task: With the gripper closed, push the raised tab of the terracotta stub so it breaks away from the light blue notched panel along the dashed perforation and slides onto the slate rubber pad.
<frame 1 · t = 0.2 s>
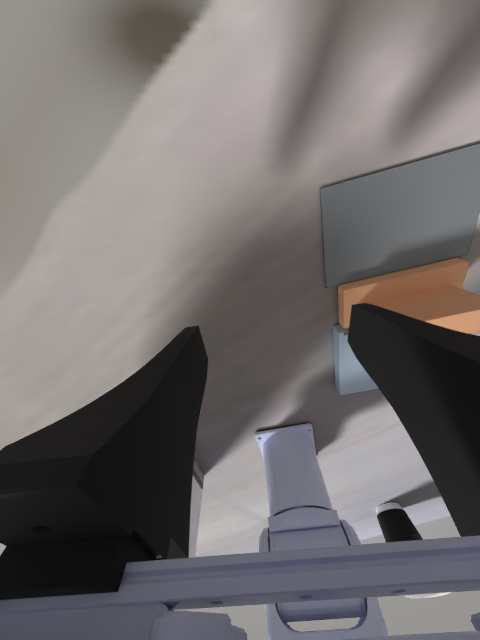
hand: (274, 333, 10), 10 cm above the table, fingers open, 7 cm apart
stub: (413, 304, 18), point 3 cm above the table, slide at 0.0 cm
pad: (398, 223, 17), on the table
light blue notched panel: (384, 348, 24), on the table
tall white rectangular box: (161, 461, 34), on the table
dixie cup: (387, 506, 45), on the table
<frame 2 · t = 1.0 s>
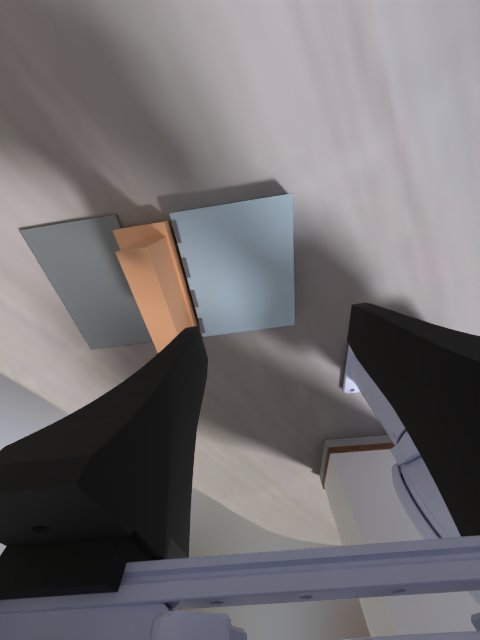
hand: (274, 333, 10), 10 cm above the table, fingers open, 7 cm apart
stub: (154, 295, 17), point 3 cm above the table, slide at 0.0 cm
pad: (102, 291, 20), on the table
light blue notched panel: (240, 271, 19), on the table
tall white rectangular box: (356, 454, 35), on the table
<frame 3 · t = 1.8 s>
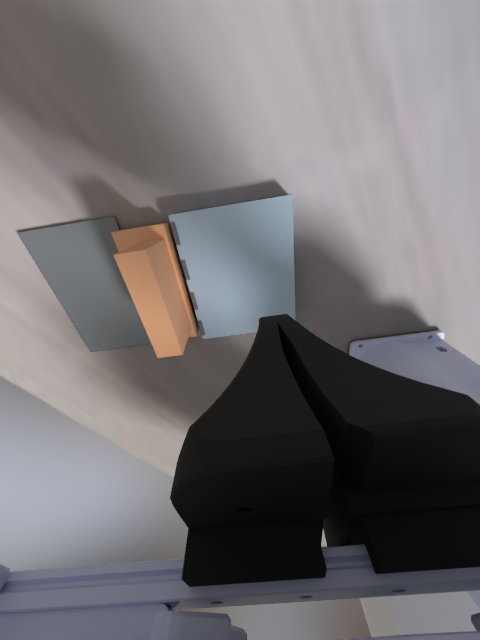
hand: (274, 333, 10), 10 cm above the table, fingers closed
stub: (153, 297, 17), point 3 cm above the table, slide at 0.0 cm
pad: (101, 294, 20), on the table
light blue notched panel: (240, 273, 19), on the table
tall white rectangular box: (358, 456, 35), on the table
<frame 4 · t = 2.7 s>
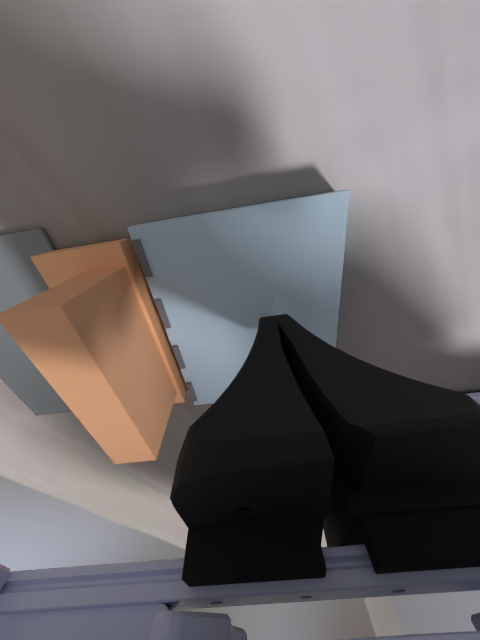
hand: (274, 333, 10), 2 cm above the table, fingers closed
stub: (109, 361, 10), point 3 cm above the table, slide at 0.0 cm
pad: (40, 342, 13), on the table
light blue notched panel: (250, 313, 12), on the table
tall white rectangular box: (391, 518, 28), on the table
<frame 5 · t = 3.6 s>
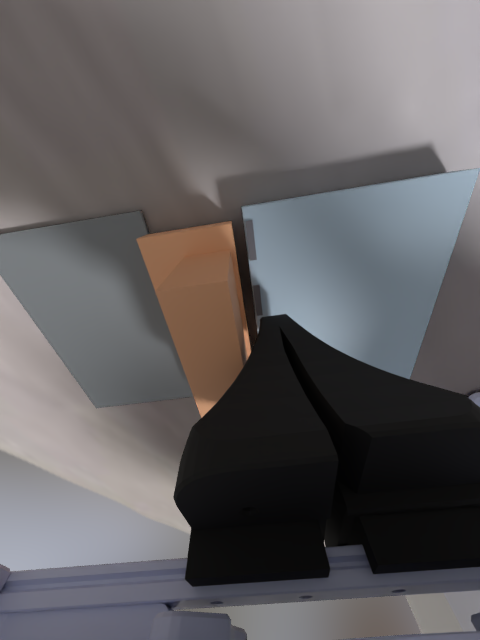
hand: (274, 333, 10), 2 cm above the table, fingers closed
stub: (206, 348, 10), point 3 cm above the table, slide at 0.0 cm, touching gripper
pad: (114, 332, 13), on the table
light blue notched panel: (333, 301, 12), on the table
tall white rectangular box: (429, 515, 28), on the table
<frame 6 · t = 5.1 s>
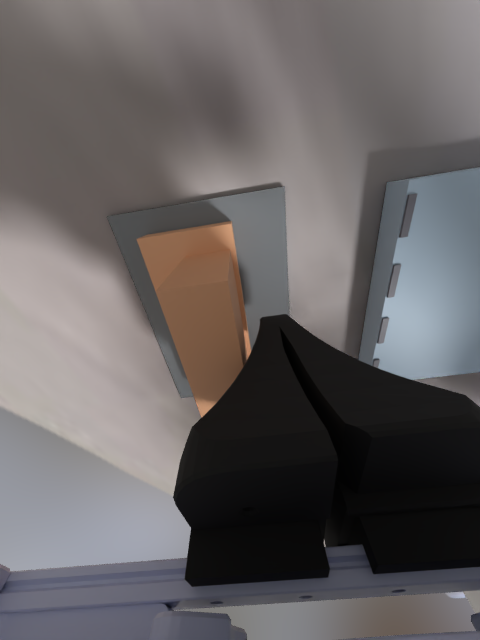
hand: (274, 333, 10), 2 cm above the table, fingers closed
stub: (206, 348, 10), point 3 cm above the table, slide at 6.5 cm, touching gripper
pad: (219, 317, 13), on the table
light blue notched panel: (451, 285, 12), on the table
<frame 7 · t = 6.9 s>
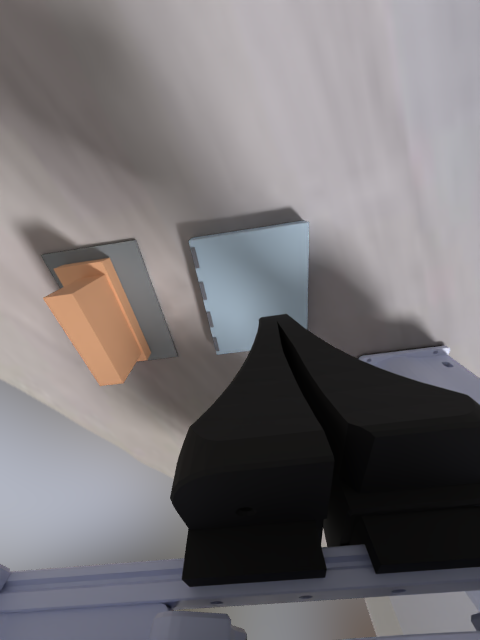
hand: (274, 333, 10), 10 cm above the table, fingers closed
stub: (97, 328, 18), point 3 cm above the table, slide at 6.5 cm
pad: (119, 311, 21), on the table
light blue notched panel: (254, 292, 20), on the table
tall white rectangular box: (363, 464, 36), on the table
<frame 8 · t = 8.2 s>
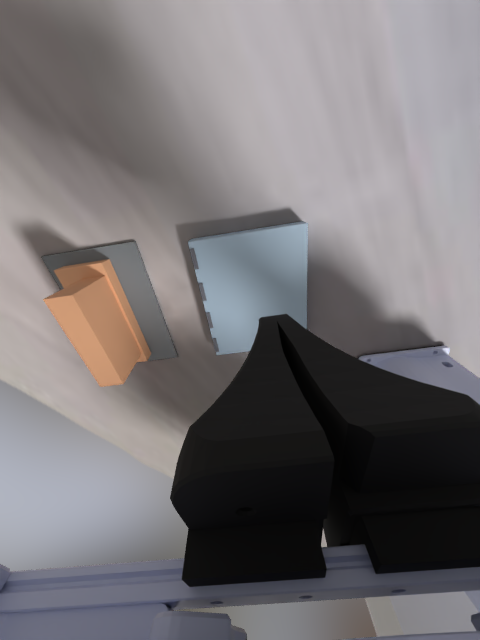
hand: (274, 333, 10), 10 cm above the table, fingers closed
stub: (97, 329, 18), point 3 cm above the table, slide at 6.5 cm
pad: (119, 312, 21), on the table
light blue notched panel: (253, 293, 20), on the table
tall white rectangular box: (363, 464, 36), on the table
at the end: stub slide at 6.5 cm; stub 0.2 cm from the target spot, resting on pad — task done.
